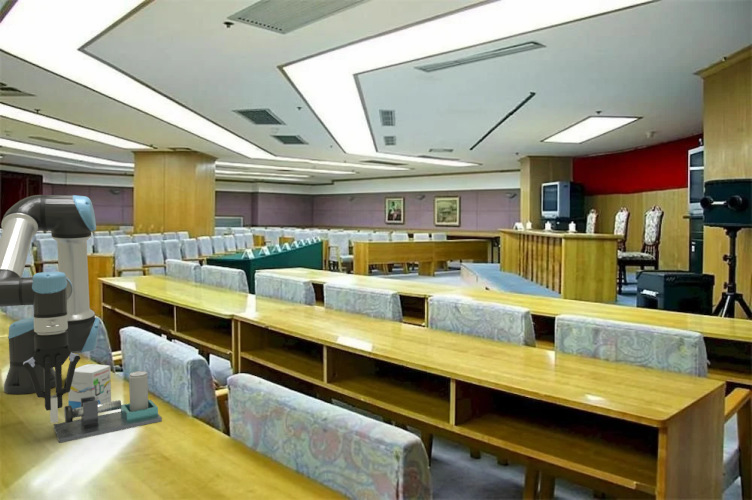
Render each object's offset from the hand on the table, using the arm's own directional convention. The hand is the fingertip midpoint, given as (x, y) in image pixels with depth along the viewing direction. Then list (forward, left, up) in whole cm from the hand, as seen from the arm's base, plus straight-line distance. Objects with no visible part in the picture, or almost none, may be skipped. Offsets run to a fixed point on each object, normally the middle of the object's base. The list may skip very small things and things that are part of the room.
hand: (54, 420), depth 141 cm
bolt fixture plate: (0, +13, -4) cm, 13 cm away
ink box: (-20, +11, -4) cm, 23 cm away
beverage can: (0, +21, -3) cm, 21 cm away
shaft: (0, +9, -1) cm, 9 cm away
